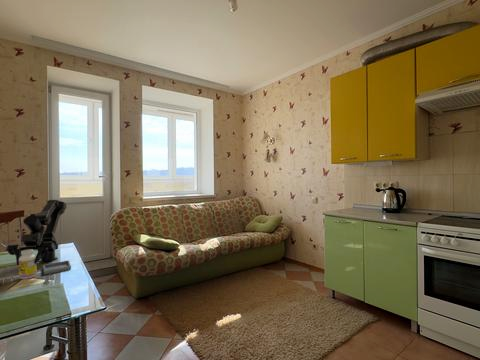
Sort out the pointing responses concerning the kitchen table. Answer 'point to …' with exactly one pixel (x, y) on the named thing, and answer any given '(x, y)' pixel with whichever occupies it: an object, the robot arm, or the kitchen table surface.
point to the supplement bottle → (27, 264)
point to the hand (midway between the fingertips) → (26, 264)
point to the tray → (56, 267)
